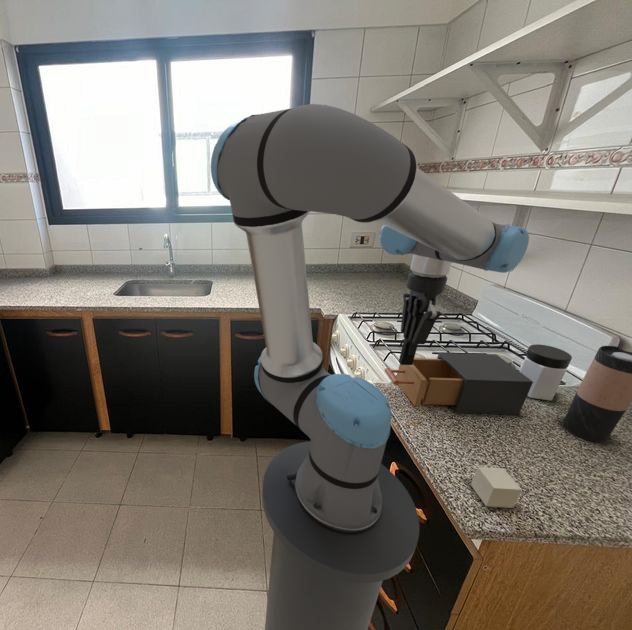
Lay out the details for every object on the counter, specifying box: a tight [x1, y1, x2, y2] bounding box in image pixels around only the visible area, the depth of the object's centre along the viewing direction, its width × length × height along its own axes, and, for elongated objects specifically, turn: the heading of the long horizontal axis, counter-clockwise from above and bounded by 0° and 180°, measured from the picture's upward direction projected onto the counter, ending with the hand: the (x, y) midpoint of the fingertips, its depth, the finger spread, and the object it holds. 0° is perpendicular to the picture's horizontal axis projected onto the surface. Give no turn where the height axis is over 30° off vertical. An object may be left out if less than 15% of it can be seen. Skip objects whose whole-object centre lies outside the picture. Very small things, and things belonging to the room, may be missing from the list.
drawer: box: [384, 357, 464, 407], centre depth 89 cm, size 18×11×8 cm, turn 86°
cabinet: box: [436, 352, 533, 416], centre depth 88 cm, size 15×13×10 cm
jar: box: [518, 343, 573, 402], centre depth 90 cm, size 9×8×12 cm
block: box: [470, 466, 523, 509], centre depth 62 cm, size 5×5×5 cm
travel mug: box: [562, 345, 632, 443], centre depth 74 cm, size 8×8×20 cm
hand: (405, 363), depth 87 cm, fingers closed
